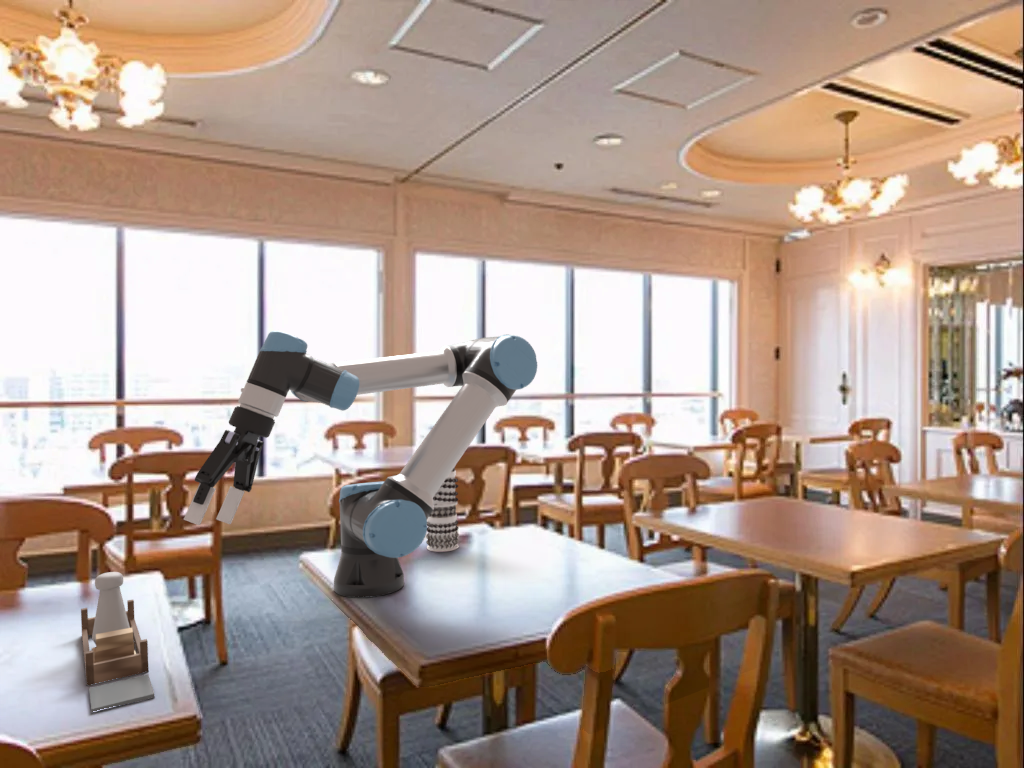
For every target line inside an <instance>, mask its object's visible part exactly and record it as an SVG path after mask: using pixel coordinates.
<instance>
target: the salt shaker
mask: <svg viewBox="0 0 1024 768" xmlns="http://www.w3.org/2000/svg"><path fill="white" fill-rule="evenodd" d="M123 584H124V576H123V574H122V573H120V572H118V571H110V572H109V571H108V572H104V573H101V574H99V575H98V576H96V577H95V578H94V587H95V589H96V590H99V595H98V598H97V599H98V600H97V605H96V610H95V616H94V617H95V622H94V628H93V634H92V635H91V637H92V641H93V643H94V645H96V634H100V633H105V632H110V631H116V630H121V629H126V628H130V626H129V622H128V618H127V614H126V611H127V609H126V607H125V603H124V599H123V595H122V592H121V587H122V586H123Z"/></svg>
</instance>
